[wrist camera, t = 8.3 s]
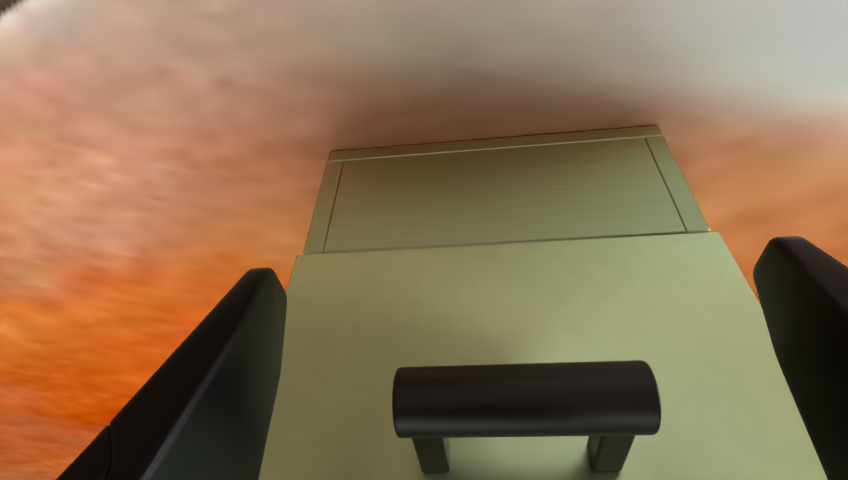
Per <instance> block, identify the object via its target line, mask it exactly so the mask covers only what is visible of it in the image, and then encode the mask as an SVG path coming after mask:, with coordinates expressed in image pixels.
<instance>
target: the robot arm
mask: <svg viewBox="0 0 848 480" xmlns="http://www.w3.org/2000/svg"><path fill="white" fill-rule="evenodd" d="M753 276H754V282H755V285H756V289H757V292H758V296H759V299H760V303H761V307H762V310H763V314H764V317H765V321H766V324H767V328H768V331H769V335H770V338H771V342H772V345H773V348H774V351H775V354H776V357H777V360H778V363H779V365H780V368H781V370H782V373H783V375H784V377H785V380H786V382H787V384H788V387H789V389H790V392H791V394H792V396H793V399H794V401H795V403H796V406H797V408H798V411H799V413H800V415H801V418H802V420H803V422H804V425H805V427H806V430H807V432H808V434H809V437H810V439H811V441H812V444H813V446H814V448H815V451H816V453H817V456H818V458H819V460H820V463H821V465H822V467H823V470H824V472H825V475H826V477H827V479H828V480H848V267H846V266H845V265H843V264H842V263H840V262H839V261H837V260H836V259H834V258H833V257H831V256H830V255H828V254H827V253H825V252H824V251H822V250H821V249H819V248H818V247H816V246H815V245H813V244H812V243H810V242H809V241H807V240H806V239H804V238H802V237H798V236H788V237H776V238H773V239H771V240H770V241H769V242H768V244H767V246H766V248H765V249H764V251H763V253H762V254H761V256H760V258H759V260H758V261H757V263H756V265H755V267H754V272H753ZM286 311H287V296H286V292H285V290H284V288H283V287H282V285H281V283H280V281H279V279H278V278H277V276H276V274H275V272H274V271H273V270H272V269H271V268H254V269H250V270H249V271H247V272H246V273H245V274H244V275H243V277H242V278H241V279H240V280H239V281H238V282H237V283H236V284H235V285H234V286H233V288H232V289H231V290H230V291H229V292H228V293H227V294H226V295H225V296H224V297H223V299H222V300H221V301H220V302H219V303H218V304H217V305H216V306H215V307H214V308H213V310H212V311H211V312H210V313H209V314H208V315H207V316H206V317H205V318H204V319H203V321H202V322H201V323H200V324H199V325H198V326H197V327H196V328H195V329H194V330H193V331H192V333H191V334H190V335H189V336H188V337H187V338H186V339H185V340H184V341H183V342H182V344H181V345H180V346H179V347H178V348H177V349H176V350H175V351H174V352H173V353H172V355H171V356H170V357H169V358H168V359H167V360H166V361H165V362H164V363H163V364H162V366H161V367H160V368H159V369H158V370H157V371H156V372H155V373H154V374H153V375H152V377H151V378H150V379H149V380H148V381H147V382H146V383H145V384H144V385H143V386H142V387H141V389H140V390H139V391H138V392H137V393H136V394H135V395H134V396H133V397H132V398H131V400H130V401H129V402H128V403H127V404H126V405H125V406H124V407H123V408H122V409H121V411H120V412H119V413H118V414H117V415H116V416H115V417H114V418H113V419H112V420H111V422H110V425H107V426H106V427H105V428H104V429H103V430H102V431H101V432H100V433H99V434H98V436H97V437H96V438H95V439H94V440H93V441H92V442H91V443H90V444H89V445H88V446H87V448H86V449H85V450H84V451H83V452H82V453H81V454H80V455H79V456H78V457H77V458H76V459H75V460H74V461H73V462H72V463H71V464H70V466H69V467H68V468H67V469H66V470H65V471H64V472H63V473H62V474H61V475H60V476H59V477H58V478H57V479H56V480H258V479H259V474H260V470H261V465H262V460H263V455H264V451H265V446H266V441H267V437H268V432H269V427H270V422H271V418H272V413H273V408H274V403H275V399H276V394H277V389H278V384H279V379H280V373H281V365H282V354H283V344H284V333H285V322H286Z"/></svg>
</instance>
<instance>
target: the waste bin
mask: <svg viewBox="0 0 848 480" xmlns="http://www.w3.org/2000/svg"><path fill="white" fill-rule="evenodd" d="M709 231H710V229H709V227H708V225H707V223H706V221H705V219H704V217H703V215H702V212H701V210H700V208H699V206H698V204H697V202H696V200H695V198H694V196H693V194H692V192H691V190H690V188H689V186H688V184H687V182H686V180H685V178H684V176H683V174H682V172H681V170H680V168H679V166H678V164H677V162H676V160H675V158H674V156H673V154H672V152H671V150H670V148H669V146H668V144H667V142H666V140H665V138H664V137H663V134H662V132H661V130H660V128H659V126H657V125H656V126H644V127H631V128H619V129H606V130H594V131H581V132H569V133H556V134H544V135H531V136H519V137H506V138H494V139H481V140H469V141H456V142H443V143H431V144H418V145H406V146H393V147H381V148H368V149H356V150H343V151H331V152H330V154H329V158H328V162H327V165H326V169H325V172H324V176H323V180H322V184H321V187H320V191H319V195H318V199H317V202H316V206H315V210H314V214H313V217H312V221H311V225H310V229H309V232H308V236H307V240H306V244H305V247H304V251H303V254H304V255H311V254H329V253H347V252H365V251H383V250H401V249H419V248H437V247H455V246H472V245H490V244H508V243H526V242H544V241H562V240H580V239H598V238H616V237H633V236H651V235H669V234H687V233H705V232H709Z"/></svg>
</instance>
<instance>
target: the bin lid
mask: <svg viewBox="0 0 848 480" xmlns="http://www.w3.org/2000/svg"><path fill="white" fill-rule="evenodd" d="M286 296H287V311H286V322H285V333H284V344H283V354H282V365H281V373H280V379H279V384H278V389H277V394H276V399H275V403H274V408H273V413H272V418H271V422H270V427H269V432H268V437H267V441H266V446H265V451H264V455H263V460H262V465H261V470H260V474H259V479H258V480H828V479H827V477H826V475H825V472H824V470H823V467H822V465H821V463H820V460H819V458H818V456H817V453H816V451H815V448H814V446H813V444H812V441H811V439H810V437H809V434H808V432H807V430H806V427H805V425H804V422H803V420H802V418H801V415H800V413H799V411H798V408H797V406H796V403H795V401H794V399H793V396H792V394H791V392H790V389H789V387H788V384H787V382H786V380H785V377H784V375H783V373H782V370H781V368H780V365H779V363H778V360H777V357H776V354H775V351H774V348H773V345H772V342H771V338H770V335H769V331H768V328H767V324H766V321H765V317H764V314H763V310H762V307H761V306H760V304H759V302H758V300H757V298H756V297H755V295H754V293H753V291H752V290H751V288H750V286H749V284H748V282H747V281H746V279H745V277H744V275H743V273H742V272H741V270H740V268H739V266H738V265H737V263H736V261H735V259H734V257H733V256H732V254H731V252H730V250H729V249H728V247H727V245H726V243H725V241H724V240H723V238H722V236H721V234H720V233H719V232H705V233H687V234H669V235H651V236H633V237H616V238H598V239H580V240H562V241H544V242H526V243H508V244H490V245H472V246H455V247H437V248H419V249H401V250H383V251H365V252H347V253H329V254H311V255H298V256H297V257H296V261H295V264H294V267H293V270H292V274H291V277H290V280H289V283H288V286H287V290H286Z"/></svg>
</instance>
